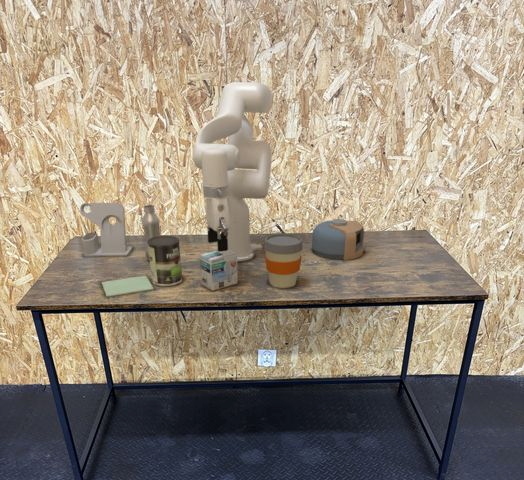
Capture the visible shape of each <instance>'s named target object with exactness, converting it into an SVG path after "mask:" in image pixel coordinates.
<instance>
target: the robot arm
mask: <svg viewBox="0 0 524 480" xmlns="http://www.w3.org/2000/svg"><path fill="white" fill-rule="evenodd" d="M272 104H273V93H272V90H271V88H270V87H269V86H268V85H266V84H264V83H261V82H256V81H255V82H254V81H253V82H252V81H250V82H249V81H247V82H246V81H233V82H229V83H227V84H226V85H225V86H224V87H223V88H222V91H221V94H220V100H219V104H218V108H217V111H216V116H215V117H213V118H211V119H210V120H209V121H208V122H207V123H205V124H204V126H202V127H201V129H200V130H199V131H198V133H197V135H196V139H195V142H194V146H193V150H192V151H193V152H192V159H193V163H194V165H195V167H196V168H198V169H200V170H201V174H202V175H201V176H202V193H203V198H204V199H205V220H206V224H207V225H206V227H207V228H206V229H207V242H208V243H209V244H210V243H217V244H216V245H217V250H218V251H219V252H220V251H227V250H228V249H229V250H231V251H233V252H235V253H237V262H246V261H249V260H251V259H253V258H254V257H255V251H256V250H257V251H259V250H262V249H263V245H262V244H261V243H260V244H257V243H251V239H250V238H251V231H250V230H251V229H250V220H251V219H250V208H249V206H248V203H246V201H245V199H253V200H255V199H256V200H262V199H265V198H266V197H267V196H268V194H269V190H270V183H271V182H270V181H271V172H272V157H273V154H272V153H273V152H272V147H271V144H270V143H269V142H268V141H265V140H255V139H254V127H253V125H252V123H251V121H250V119H248V118H247V117H246V115H245V113H253V114H254V113H255V114H257V113H260V114H266V113H268V112H269V111H270V109H271V108H272ZM225 138H228V142H227V143H214V142H217V141H219V140H222V139H225Z"/></svg>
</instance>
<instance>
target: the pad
mask: <svg viewBox="0 0 524 480" xmlns="http://www.w3.org/2000/svg"><path fill="white" fill-rule="evenodd" d="M101 285H102V289H103V291H104V293H105V296H106V298H110V297H118V296H124V295H129V294H136V293H142V292H149V291H154V290H155V288H154V287H153V285H152V284H151V281H150V280H149V278H148V277H147V275H141V276H134V277H127V278H121V279H114V280H108V281H107V280H106V281H101Z"/></svg>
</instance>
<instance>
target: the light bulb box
mask: <svg viewBox="0 0 524 480" xmlns="http://www.w3.org/2000/svg"><path fill="white" fill-rule="evenodd" d="M199 257H200V258H199V259H200V273H201V276H200V277H201V285H202V286H203V287H205V288H207V289H209V290H211V291H212V292H213V291H217V290H220V289H224V288H226V287H229V286H233V285H237V284H238V261H237V253H235V252H233V251H231V250H229V249H228V250H227V251H220V252H219V251H218V249H216V250H212V251H208V252H204V253H201V254H199Z"/></svg>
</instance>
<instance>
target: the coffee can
mask: <svg viewBox="0 0 524 480" xmlns="http://www.w3.org/2000/svg"><path fill="white" fill-rule="evenodd" d="M147 243H148V248H149V256H150V261H149V264H150V274H151V282H152V284H153V285H155V286H159V287H172V286H176V285H178V284H180V283H182V281H183V273H182V261H181V250H180V238H178V237H177V236H172V235H159V236H157V237H153V238H150V239H149V240H148V241H147Z"/></svg>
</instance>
